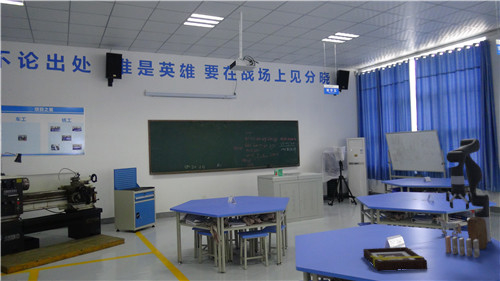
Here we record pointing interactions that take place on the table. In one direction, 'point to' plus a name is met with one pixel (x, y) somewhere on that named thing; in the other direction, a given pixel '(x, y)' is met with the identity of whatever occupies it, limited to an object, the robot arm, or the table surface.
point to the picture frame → (395, 258)
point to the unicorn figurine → (448, 226)
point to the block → (477, 231)
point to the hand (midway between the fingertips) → (459, 208)
